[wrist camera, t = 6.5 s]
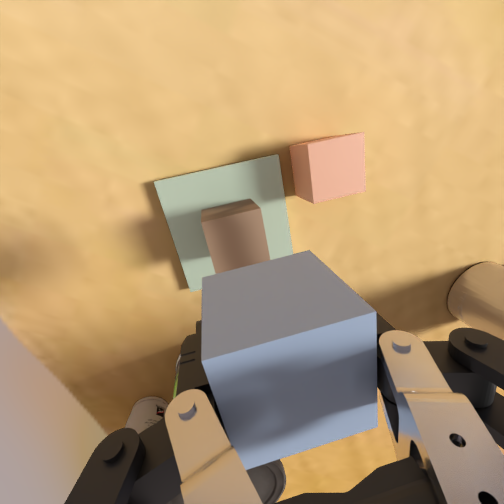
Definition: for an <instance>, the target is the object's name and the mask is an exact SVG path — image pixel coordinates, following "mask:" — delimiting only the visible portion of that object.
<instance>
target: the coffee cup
mask: <svg viewBox="0 0 504 504" xmlns="http://www.w3.org/2000/svg"><path fill="white" fill-rule="evenodd" d="M167 407H168V403H167V402H166V401H165V400H164V399H162V398H159V397H151V396H150V397H145V398H143V399H140V400H139V401H137V402H136V403H135V405H134V406H133V409H132V411H131V413H130V416H129V418H128V421H127V423H126V426H125V428H132V429H134V430H136V432H137V433H138V434H139V433H141V432H142V431H144V430H145V429H147V428H149V427H150V426H152V425H154V424H155V423H157V422H158V421H160V420H161V419H162V418H163V417H164V416H165V413H166V410H167Z"/></svg>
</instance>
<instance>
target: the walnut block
mask: <svg viewBox="0 0 504 504" xmlns="http://www.w3.org/2000/svg"><path fill="white" fill-rule="evenodd" d="M201 224H202V228H203V231H204V235H205V238H206V242H207V245H208V249H209V252H210V256H211V259H212V263H213V266H214V270H215V273H216V274H218V273H222V272H226V271H230V270H234V269H238V268H241V267H245V266H249V265H253V264H257V263H261V262H265V261H269V260H270V255H269V250H268V244H267V239H266V234H265V228H264V223H263V217H262V212H261V208H260V207H259V206H258V205H257V204H256V203H255V202H254V201H253V200H252V199H251V198H250V199H246V200H242V201H237V202H233V203H229V204H224V205H220V206H216V207H212V208H207V209H203V210H201Z"/></svg>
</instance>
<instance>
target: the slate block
mask: <svg viewBox="0 0 504 504" xmlns="http://www.w3.org/2000/svg"><path fill="white" fill-rule="evenodd" d="M201 362H202V364H203V367H204V370H205V373H206V376H207V378H208V381H209V384H210V387H211V390H212V393H213V395H214V398H215V401H216V404H217V407H218V409H219V412H220V415H221V418H222V421H223V424H224V426H225V429H226V432H227V435H228V438H229V440H230V443H231V445H233V447H234V448H235V450H236V452H237V454H238V456H239V458H240V460H241V462H242V464H243V466H244V468H245V470H248V469H251V468H254V467H257V466H260V465H263V464H266V463H269V462H272V461H275V460H278V459H281V458H284V457H287V456H290V455H293V454H296V453H300V452H303V451H306V450H309V449H312V448H315V447H318V446H321V445H324V444H327V443H330V442H333V441H336V440H339V439H342V438H345V437H348V436H351V435H354V434H357V433H360V432H363V431H367V430H370V429H373V428H376V427H378V419H377V320H376V311H375V310H374V309H373V308H372V307H371V306H370V305H369V304H368V303H367V302H366V301H364V300H363V299H362V298H361V297H360V296H359V295H358V294H357V293H356V292H355V291H353V290H352V289H351V288H350V287H349V286H348V285H347V284H346V283H345V282H344V281H343V280H341V279H340V278H339V277H338V276H337V275H336V274H335V273H334V272H333V271H332V270H330V269H329V268H328V267H327V266H326V265H325V264H324V263H323V262H322V261H321V260H319V259H318V258H317V257H316V256H315V255H314V254H313V253H312V252H311V251H310V250H308V251H304V252H300V253H296V254H292V255H289V256H285V257H281V258H277V259H273V260H269V261H265V262H261V263H257V264H253V265H249V266H245V267H241V268H238V269H234V270H230V271H226V272H222V273H218V274H214V275H210V276H206V277H202V343H201Z"/></svg>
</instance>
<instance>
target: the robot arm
mask: <svg viewBox="0 0 504 504" xmlns="http://www.w3.org/2000/svg"><path fill="white" fill-rule="evenodd" d="M448 309H449V311H450V313H451V314H452V315H453V316H455V317H456V318H458V319H459V320H461V321H462V322H464V323H465V324H467V325H469V326H470V327H472V328H458V329H455V330H453V331H452V332H451V333H450V334H449V340H448V341H422V340H421V339H420V338H418V337H417V336H415V335H414V334H411V333H409V332H406V331H400V330H395V329H394V328H393V327H392V326H391V325H390V324H389V323H388V322H386V321H385V320H384V319H383V318H382V317H381V316H380V315H379V314H378V313H377V312H376V320H377V387H378V388H379V397H380V401H381V404H382V408H383V411H384V415H385V418H386V421H387V425H388V428H389V431H390V435H391V438H392V442H393V445H394V448H395V453H396V458H397V461H396V462H393V463H390V464H387V465H384V466H381V467H379V468H377V469H376V470H374V471H373V472H372V473H371V474H370V475H368V476H367V477H366V478H365V479H363V480H362V481H361V482H360V483H359V484H357V485H356V486H355V487H354V488H352V489H351V490H350V491H348V492H345V493H303V494H300V495H297V496H294V497H292V498H289V499H286V500H283V501H280V502H277V503H274V504H504V455H503V454H502V452H501V450H500V449H499V447H498V446H497V444H498V445H499V446H500V447H502V448H503V449H504V397H503V396H502V395H500V394H498V393H497V392H496V387H497V386H498V387H500V388H501V389H503V390H504V266H502V265H500V264H497V263H493V262H483V263H480V264H477V265H475V266H473V267H471V268H469V269H468V270H466V271H465V272H464V273H463V274H462V275H461V276H460V277H459V278H458V279H457V280H456V282H455V283H454V285H453V286H452V288H451V290H450V293H449V296H448ZM201 343H202V320H200V321H197V322H196V334H193V335H189V336H187V337H186V339H185V340H184V342H183V344H182V345H181V354H180V355H181V357H180V365H179V373H178V382H177V391H176V397H175V398H174V399H173V400H172V401H171V403H170V404H169V406H168V407H167V410H166V413H165V416H164V417H163V418H162V419H161V420H160V421H158V422H157V423H155V424H154V425H152V426H150V427H149V428H147V429H145V430H144V431H142V432H141V433H139V434H138V433H137V432H136V430H134V429H132V428H122V429H119V430H117V431H115V432H113V433H111V434H110V435H108V436H107V437H106V438H105V439H104V440H103V441H102V442H101V443H100V444H99V445H98V446H97V448H96V449H95V450H94V452H93V453H92V455H91V457H90V459H89V461H88V462H87V464H86V466H85V468H84V469H83V471H82V473H81V475H80V477H79V479H78V480H77V482H76V484H75V486H74V488H73V489H72V491H71V493H70V495H69V496H68V498H67V500H66V502H65V503H64V504H167V503H168V502H169V501H170V500H172V499H173V498H174V497H176V496H177V495H178V494H180V493H181V492H182V496H183V500H184V504H263V503H262V501H261V499H260V497H259V495H258V493H257V491H256V489H255V487H254V485H253V484H252V482H251V480H250V478H249V476H248V474H247V472H246V470H245V468H244V466H243V464H242V462H241V460H240V458H239V456H238V454H237V452H236V450H235V448H234V447H233V445H231V444H230V442H229V440H228V438H227V436H226V434H225V430H226V429H225V426H224V424H223V421H222V418H221V415H220V412H219V409H218V407H217V404H216V401H215V398H214V395H213V393H212V390H211V387H210V384H209V381H208V378H207V376H206V373H205V370H204V367H203V364H202V362H201Z"/></svg>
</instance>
